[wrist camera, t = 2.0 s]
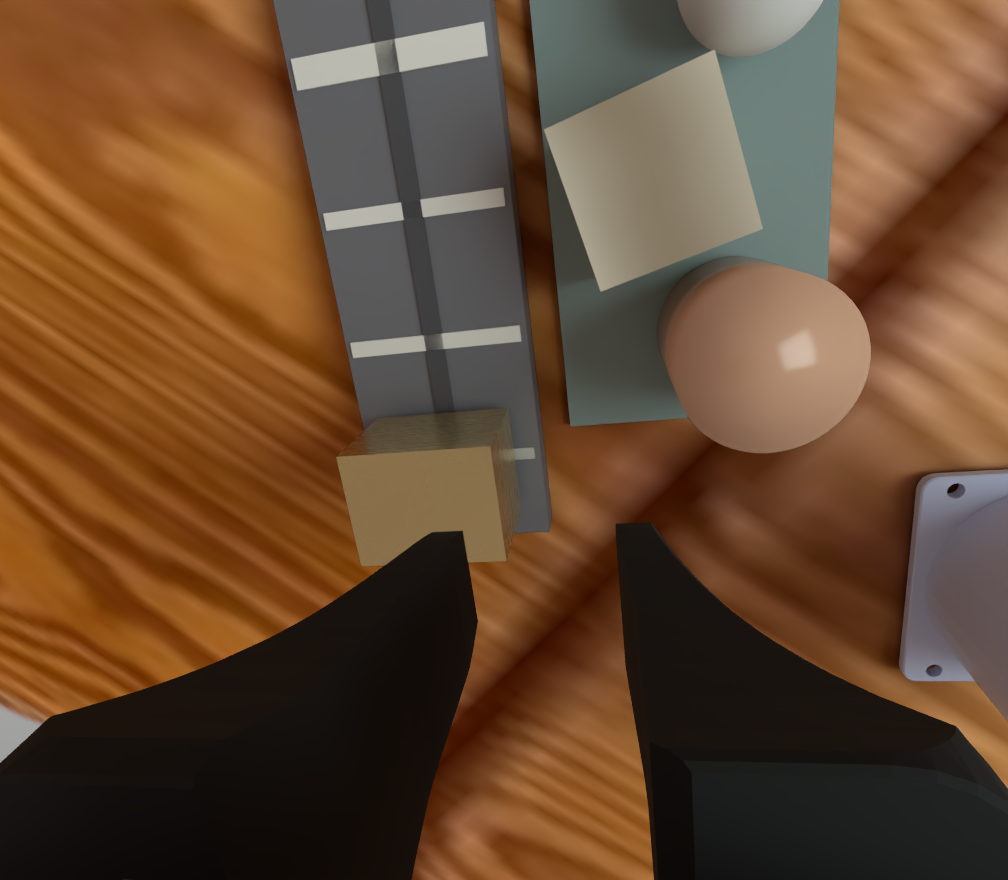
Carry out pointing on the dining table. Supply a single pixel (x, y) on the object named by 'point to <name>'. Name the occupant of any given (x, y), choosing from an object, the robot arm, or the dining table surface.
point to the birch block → (656, 173)
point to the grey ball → (745, 23)
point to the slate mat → (768, 157)
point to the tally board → (420, 211)
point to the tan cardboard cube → (432, 483)
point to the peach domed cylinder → (762, 353)
